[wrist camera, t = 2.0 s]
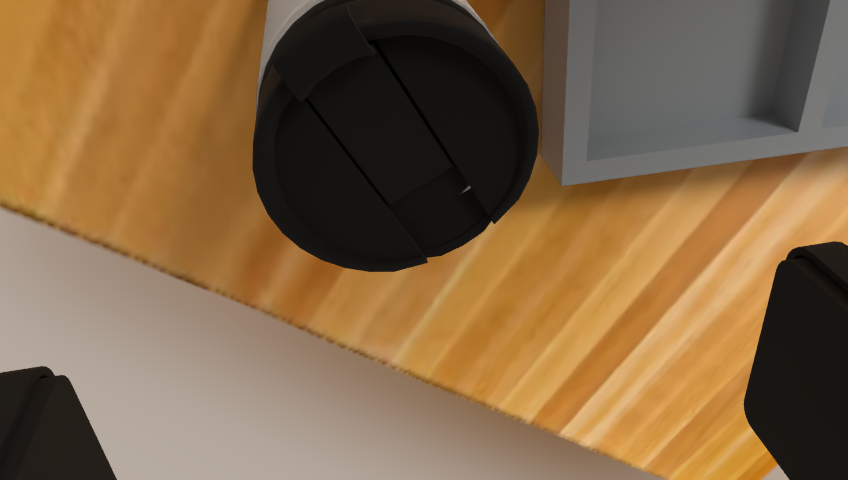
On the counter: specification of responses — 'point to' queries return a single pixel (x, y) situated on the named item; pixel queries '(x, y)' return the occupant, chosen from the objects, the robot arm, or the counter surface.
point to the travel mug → (387, 129)
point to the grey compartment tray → (689, 83)
